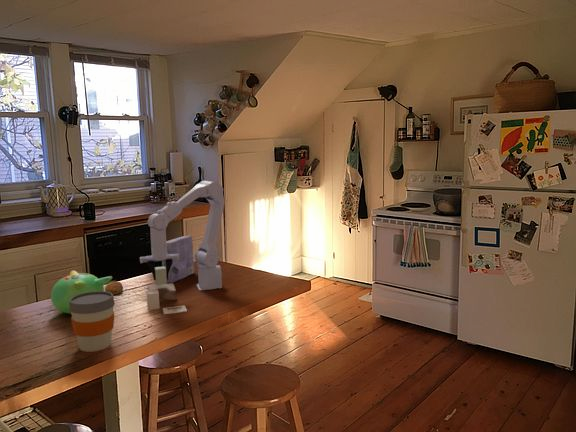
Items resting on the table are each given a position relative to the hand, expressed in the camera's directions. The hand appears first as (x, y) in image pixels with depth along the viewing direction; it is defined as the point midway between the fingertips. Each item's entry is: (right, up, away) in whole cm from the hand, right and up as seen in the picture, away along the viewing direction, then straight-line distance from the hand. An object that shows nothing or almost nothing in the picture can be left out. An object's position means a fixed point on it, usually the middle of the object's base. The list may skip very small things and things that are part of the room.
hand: (160, 279), depth 190 cm
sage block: (0, -2, 0) cm, 2 cm away
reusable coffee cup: (-9, -15, -43) cm, 46 cm away
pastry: (-21, -7, +9) cm, 24 cm away
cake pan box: (+1, -3, +28) cm, 28 cm away
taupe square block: (0, -8, +1) cm, 8 cm away
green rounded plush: (-25, -10, -14) cm, 31 cm away
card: (+9, -10, -14) cm, 19 cm away
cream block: (0, -9, -10) cm, 14 cm away
